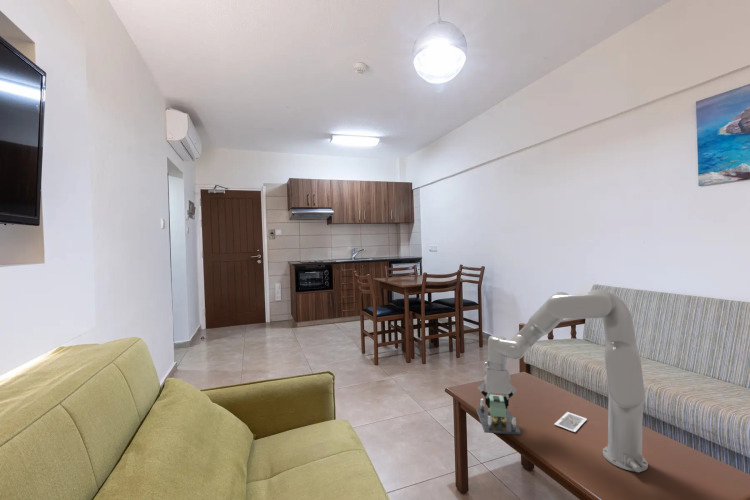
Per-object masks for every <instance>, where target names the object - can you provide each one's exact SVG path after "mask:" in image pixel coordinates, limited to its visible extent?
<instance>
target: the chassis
mask: <svg viewBox="0 0 750 500" xmlns="http://www.w3.org/2000/svg"><path fill="white" fill-rule="evenodd" d="M479 404H480V407H476V413H477V415H478V419H479V421H480V424H481V427H482V430H483V432H484V433H485V434H486V433H487V434H502V435H504V434H505V435H522V432H521V430H520V428H519V426H518V424H517V420H516V419H517V418H516V417H515V416H513V415H512V413H511V412H510V410H509V409H508V408H507V409H506V417H498V416H491V415H490V409H489V408H488V407H486V408H485V397H481V398H480V403H479Z"/></svg>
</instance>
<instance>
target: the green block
mask: <svg viewBox="0 0 750 500" xmlns="http://www.w3.org/2000/svg"><path fill="white" fill-rule="evenodd" d="M489 398H490V408H489V409H490V415H491V416H498V417H506V406H505V403H504V395H502V394H490V396H489Z"/></svg>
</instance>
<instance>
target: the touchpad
mask: <svg viewBox="0 0 750 500" xmlns="http://www.w3.org/2000/svg"><path fill="white" fill-rule="evenodd" d="M587 420H588V418H586V417H583V416H580V415H578V414H575V413H572V412H569V411H566V412H565V413H564V414H563V415H562V416H561V417H560V418H559V419H558V420H556V421H555V422H554V426H555V425H556V426H557V427H561V428H563V429H566V430H568V431H571V432H574V433H576V432H577V431H578V430H579V429H580V428H581V426H583V424H584V423H585V422H586V421H587Z"/></svg>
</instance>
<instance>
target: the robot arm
mask: <svg viewBox="0 0 750 500" xmlns="http://www.w3.org/2000/svg"><path fill="white" fill-rule="evenodd" d="M601 318H602V322H603V329H604V336H605V349H604V362H605V364H604V365H605V371H606V372H605V373H606V381H607V389H608V408H607V409H608V413H607V416H608V417H607V421H608V422H607V426H608V427H607V445H606V446H605V447H603V448H602V455H603V457H604V459H606V460H607V461H608V462H609V463H610V464H612V465H614V466H615V467H618V468H620V469H621V470H622V469H623V470H626V471H630V472H635V473H641V472H644V471H645V472H646V470H648V468H649V464H648V461H647V460H646V459H645V458H644V456H643V420H644V419H643V415H644V414H643V413H644V411H643V409H644V407H643V406H644V405H643V404H644V402H645V400H646V399H645V398H646V395H645V384H644V378H643V369H642V368H643V367H642V360H641V356H640V352H639V349H638V346H637V341H636V332H635V326H634V321H633V317H632V314H631V311H630V310H629V307H628V305H626V303H625V302H624V301H623V300H622V299H621V298H620V297H619V296H617V295H616V294H614V293H613V292H610V291H607V290H604V289H601V288H600V289H598V288H597V289H596V288H595V289H593V290H590V291H588V292H587V293H581V294H569V293H567V292H563V291H560V292H559V291H558V292H556V293H554V294H552V295H551V296H549V297H548V299H547V300H546V301H545V302H544V303H543V304H542V305H541V306H540V307H539V308H538V309H537V310H536V311H535V312H534V313H533V314H532V315H531V317H530V318H529V319H528V321H527V322H526V324H524V326H523V327H522V328H521V329H520V330H519V331H518V332H517V333H516V334H515V335H514V336H512V337H511V338H510V339H507V338H506V337H505V336H503V335H500V334H499V335H498V334H493V335H490V336H488V339H487V360H486V361H483V363H484V366H486V367H485V371H484V381H483V382H482V383H481V384H480V385H478V386H477V389H478V391H479V392H480V393H481V394H482V395H483V396H484V405H485V406H486V408H490V398H489V396H490V394H491V395H503V399H504V403H505V406H506V409H508V407H509V403H510V402H509V401H510V398H512V397H513V396H514V395H515V393H517V389H516V387H514V385H512V384H511V376H510V370H509V368H508V367H507V366H508V365H507V360H508V359H512V360H520V359H522V358H523V357H524V356H525V354H527V352H528V351H529V350H530V349H531V348H532V347H533V346H534V345H535V344H536V343H537V342H538V341H539V340H540V339H541V338H542V337H544V336H546V335H549V333H551V332H552V331H553V330H554V329H555V328H556V327H557V326H558V325H559V324H560V323H561V322H562V321H563V320H564V319H565V320H566V319H571V320H575V319H576V320H577V319H579V320H580V319H583V320H584V319H601ZM507 358H508V359H507Z"/></svg>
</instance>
